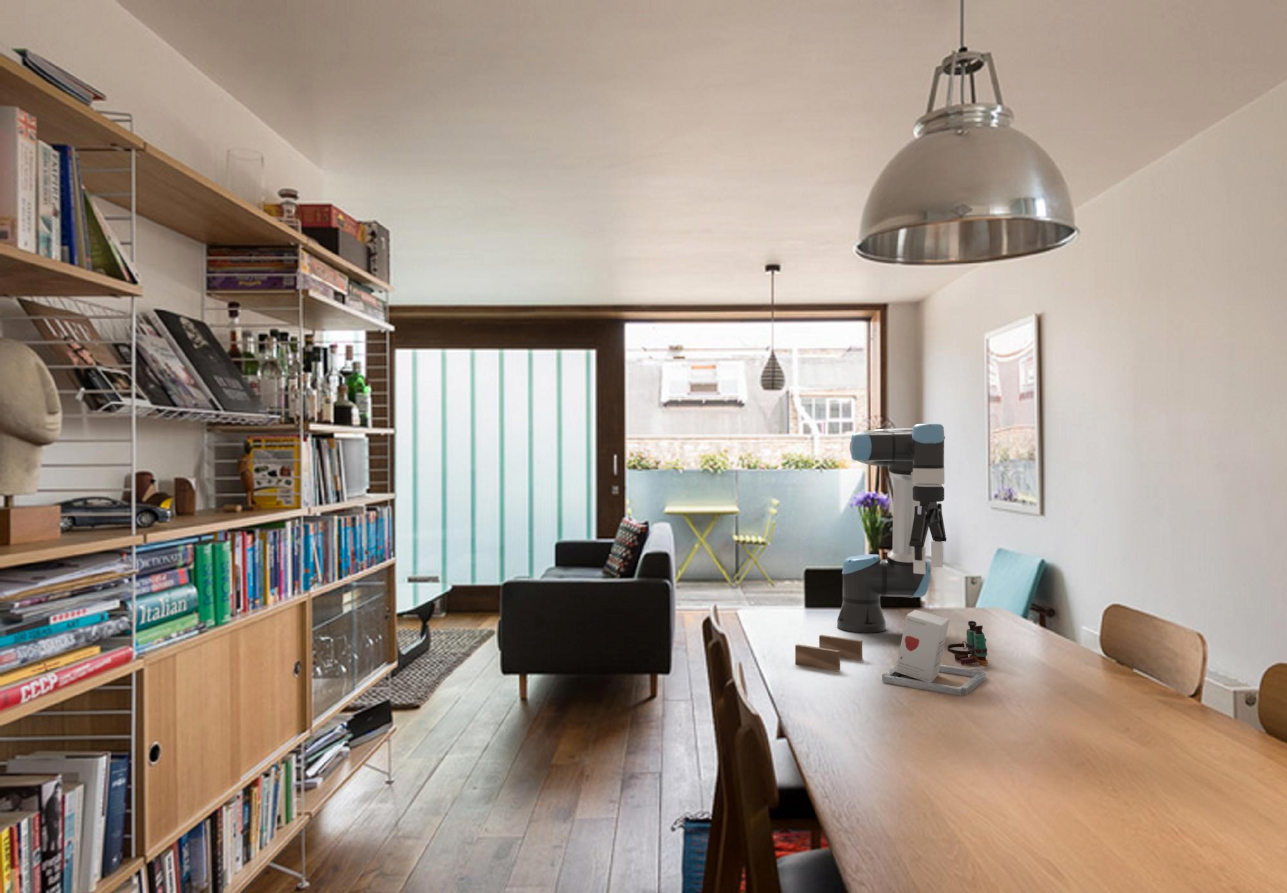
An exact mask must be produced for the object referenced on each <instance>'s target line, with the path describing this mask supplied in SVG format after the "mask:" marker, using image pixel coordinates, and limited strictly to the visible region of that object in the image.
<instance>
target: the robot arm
mask: <svg viewBox="0 0 1287 893" xmlns="http://www.w3.org/2000/svg"><path fill="white" fill-rule="evenodd" d="M944 427H945V426H944V425H943V424H941V423H917V424H916V423H915V424H914V425H913V426H912V427H911V428H909V427H908V428H906V427H904V428H875V429H870V430H864V431H861V432H855V433H852V434H851V438H850V443H849V451H850V455H851V459H852V460H853V461H857V462H859V463H861V464H865V465H869V466H876V467H888V473H889V474H891V475H892V477H893V492H892V493H893V495H892V496H893V499H892V500H893V503H892V505H893V506H892V549H891V550H890V551H889V552H887V558H886V559H882V558H881V556H880V555H879V554H870V553H869V554H868V553H867V554H860V555H853V556H849V557H846V558H845V559H844V560H843V562H842V572H841V574H842V604H841V608H840V611H839V614H838V616H837V621H836V622H837V623H836V627H837V628H838V629H840V630H843V631H847V632H853V633H866V634H867V633H879V632H884V631H886V629H887V628H886V627H887V624H886V618H885V616H884V613H883V610H882V607H881V597H899V598H900V597H901V598H923V597H924V596H926V594H927V593H928V590H929V587H930V581H931V571H932V570H931V568H932V567H933V568H934V567H935V568H943V567H944V560H943V559H944V546H943V545H944V542H947V537H946V536H947V535H946V529H945V528H946V527H945V524H944V516H943V508H942V507H943V506H942V503H941V502H943V501H945V487H944V486H943V485H945V440H946V439H945V438H946V436H945V428H944ZM928 531H930V534H931V538H932V541H931V542H930V544H931V545H930V551H931V552H930V554H931V558H930V561H929V560H927V558H926V557H927V556H926V551H927V550H926V546H925V542H926V539H927V535H928Z"/></svg>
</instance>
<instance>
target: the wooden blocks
mask: <svg viewBox="0 0 1287 893" xmlns="http://www.w3.org/2000/svg"><path fill="white" fill-rule="evenodd" d="M818 640H819V641H818V642H819V644H818V646H812V645H806V644H799V643H798V644H795V646H794V647H795V653H794V655H795V656H794V657H795V659H794V660H795V665H799V666H805V667H811V668H817V669H822V670H829V671H833V672H839V671H840V670H841V658H845V659H850V660H852V659H853V660H857V661H861V660H863V640H860V639H854V638H847V637H839V636H832V635H826V634H820V635H819V636H818Z"/></svg>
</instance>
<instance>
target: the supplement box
mask: <svg viewBox="0 0 1287 893" xmlns="http://www.w3.org/2000/svg"><path fill="white" fill-rule="evenodd" d="M904 621H905V622H904V628H903V632H902V637H901V642H900V646H899V651H898V656H897V661H896V665H895V667H896V671H895V672H898V673H901V674H900V675H905V676H907V677H910V678H913V679H915V680H919V681H925V682H930V683H933V681H934V680H935V679H936V678H937V677H938V676H939V668H940V664H941V662H942V657H943V654H944V653H943V652H944V649H945V644H946V637H947V635H948V634H947V633H948V631H949V630H948V629H949V626H950V621H951V620H950V618H945V617H942V616H939V615H935V614H933V613H930V612H925V611H922V610H918V609H913V611H911V612H909V613H908V614H906V617H905V620H904Z"/></svg>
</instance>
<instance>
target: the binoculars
mask: <svg viewBox="0 0 1287 893" xmlns="http://www.w3.org/2000/svg"><path fill="white" fill-rule="evenodd" d="M967 625H968V626H969V628H968V629H966V641H962V643H961V642H960V643H951V644H948V645H947V646H946V647H947V652H949V653H952V654H954V655H953V656H954V660H955V661H957V662H960V665H968V664H973V663H976V664H979V665H982V666H983V665H989V661H988V659H987V656H988V648H987V645H986V644H987V638H986V637H985V633H984V632H983V625H977V622H976V621H974V620H969V621H967ZM953 648H962V649H963V650H956V649H953ZM966 649H967V650H966Z"/></svg>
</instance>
